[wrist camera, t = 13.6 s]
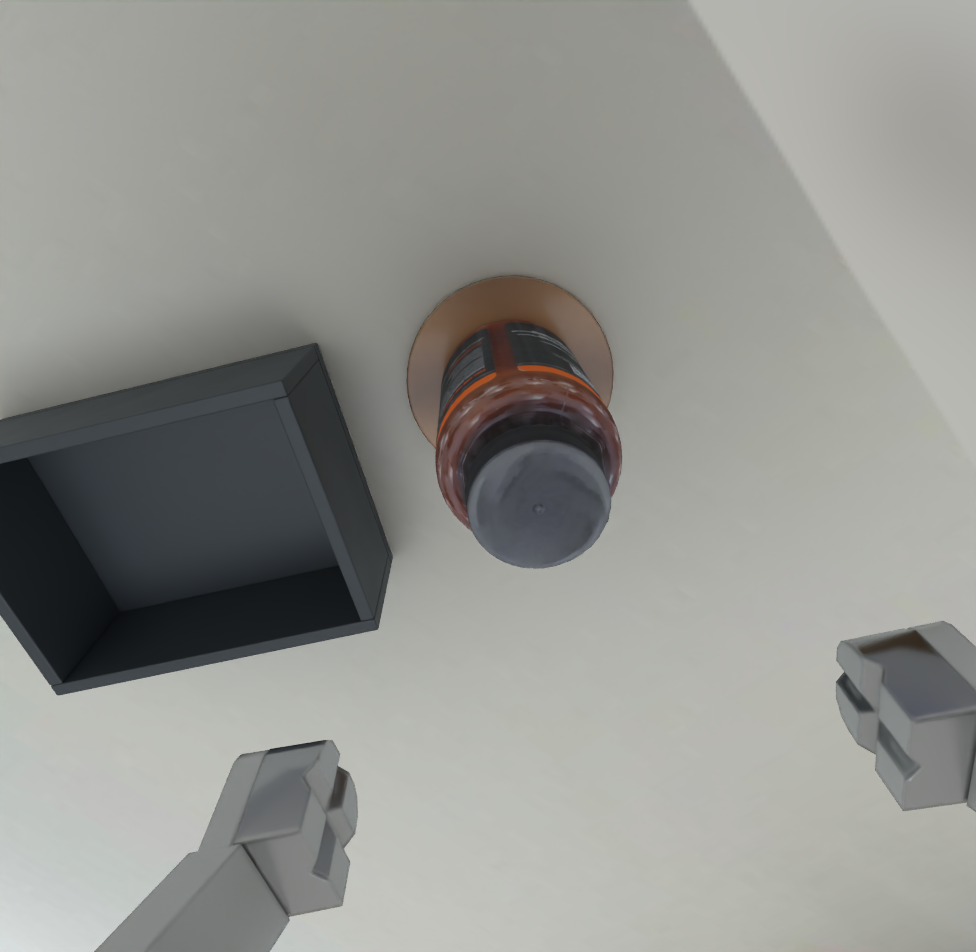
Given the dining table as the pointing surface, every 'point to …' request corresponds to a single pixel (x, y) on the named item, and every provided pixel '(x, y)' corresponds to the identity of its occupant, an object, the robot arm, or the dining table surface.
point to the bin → (187, 524)
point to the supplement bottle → (525, 445)
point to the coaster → (492, 305)
